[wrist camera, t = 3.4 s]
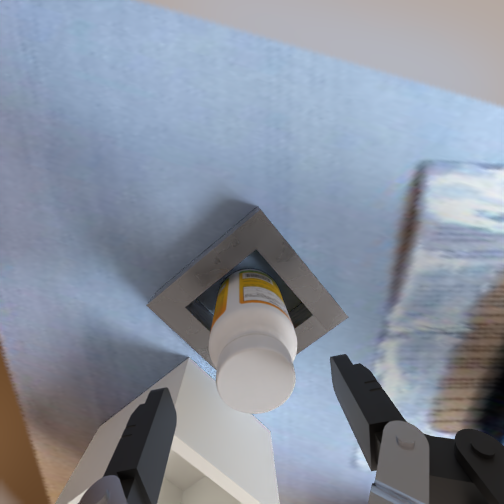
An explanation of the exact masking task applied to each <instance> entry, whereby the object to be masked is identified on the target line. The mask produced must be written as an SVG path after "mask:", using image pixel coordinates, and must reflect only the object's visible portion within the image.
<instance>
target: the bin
mask: <svg viewBox="0 0 504 504" xmlns="http://www.w3.org/2000/svg"><path fill="white" fill-rule="evenodd" d="M165 387H167V388H168V389H169V391H170V394H171V397H172V400H173V403H174V407H175V410H176V414H177V424H176V429H175V433H174V437H173V441H172V445H171V449H170V453H169V457H168V461H167V465H166V469H165V474H164V478H163V482H162V486H161V490H160V494H159V498H158V502H157V504H280V503H279V495H278V487H277V479H276V471H275V463H274V455H273V447H272V439H271V431H270V430H268V429H267V428H266V427H265V426H264V425H263V424H262V423H261V422H260V421H259V420H257V419H256V418H255V417H254V416H253V415H252V414H249V413H243V412H239V411H237V410H235V409H232V408H231V407H229V406H228V405H227V404H226V403H225V402H224V401H223V400H222V399H221V397H220V396H219V393H218V391H217V387H216V381H215V380H214V379H212V378H211V377H210V376H209V375H208V374H207V373H206V372H205V371H204V370H203V369H201V368H200V367H199V366H198V365H197V364H196V363H195V362H194V361H193V360H192V359H191V358H187V359H186V360H185V361H184V362H182V363H181V364H180V365H178V366H177V367H176V368H175V369H173V370H172V371H171V372H169V373H168V374H167V375H166V376H164V377H163V378H162V379H160V380H159V381H158V382H157V383H155V384H154V385H153V386H151V387H150V388H149V389H148V390H146V391H145V392H144V393H142V394H141V395H140V396H139V397H137V398H136V399H135V400H133V401H132V402H131V403H129V404H128V405H127V406H126V407H124V408H123V409H122V410H120V411H119V412H118V413H117V414H115V415H114V416H113V417H111V418H110V419H109V420H108V421H106V422H105V423H104V424H102V425H101V426H100V427H99V428H98V430H97V432H96V433H95V435H94V437H93V439H92V440H91V442H90V444H89V446H88V447H87V449H86V451H85V453H84V454H83V456H82V458H81V460H80V461H79V463H78V465H77V467H76V468H75V470H74V472H73V473H72V475H71V477H70V479H69V480H68V482H67V484H66V486H65V487H64V489H63V491H62V493H61V494H60V496H59V498H58V500H57V501H56V503H55V504H77V503H79V502H80V500H81V498H82V496H83V495H84V493H85V492H86V491H87V490H88V489H89V488H90V487H91V486H92V485H93V484H94V483H95V482H96V481H98V480H99V479H101V478H102V477H103V475H104V473H105V471H106V469H107V467H108V465H109V462H110V460H111V458H112V456H113V453H114V451H115V449H116V447H117V445H118V442H119V440H120V439H121V436H122V434H123V431H124V429H126V425H127V423H128V420H129V418H130V416H131V414H132V413H133V412H134V411H135V410H136V408H137V407H138V406H139V405H140V404H145V402H146V399H147V397H148V394H149V392H150V391H151V390H155V389H160V388H165Z"/></svg>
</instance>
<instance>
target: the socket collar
mask: <svg viewBox="0 0 504 504" xmlns="http://www.w3.org/2000/svg"><path fill="white" fill-rule="evenodd" d="M256 249H257V250H258V252H259V253H260V254H261V255H262V256H263V257H264V259H265V260H266V261H267V262H268V263H269V264H270V266H271V267H272V268H273V269H274V270H275V271H276V273H277V274H278V275H279V276H280V277H281V278H282V279H283V281H284V282H285V283H286V284H287V285H288V286H289V288H290V289H291V290H292V291H293V292H294V293H295V295H296V296H297V297H298V298H299V299H300V300H301V301H302V304H300V305H299V306H298V307H296V308H295V309H294V310H292V311H291V312H290V313H288V314H289V317H290V319H291V321H292V324H293V326H294V330H295V333H296V337H297V352H296V355H297V354H298V353H299V352H301V351H302V350H304V349H305V348H306V347H308V346H309V345H311V344H312V343H313V342H315V341H316V340H317V339H319V338H320V337H322V336H323V335H324V334H326V333H327V332H329V331H330V330H331V329H333V328H334V327H336V326H337V325H338V324H340V323H341V322H342V321H344V320H345V319H347V318H348V316H347V315H346V314H345V312H344V311H343V310H342V309H341V308H340V306H339V305H338V304H337V303H336V301H335V300H334V299H333V298H332V296H331V295H330V294H329V293H328V292H327V290H326V289H325V288H324V287H323V285H322V284H321V283H320V282H319V281H318V279H317V278H316V277H315V276H314V274H313V273H312V272H311V271H310V270H309V268H308V267H307V266H306V265H305V263H304V262H303V261H302V260H301V258H300V257H299V256H298V255H297V254H296V252H295V251H294V250H293V249H292V247H291V246H290V245H289V244H288V243H287V241H286V240H285V239H284V238H283V236H282V235H281V234H280V233H279V232H278V230H277V229H276V228H275V227H274V225H273V224H272V223H271V222H270V221H269V219H268V218H267V217H266V216H265V214H264V213H263V212H262V211H261V209H260V208H259V207H256V208H255V209H254V210H253V211H252V212H250V213H249V214H248V215H247V216H246V217H244V218H243V219H242V220H241V221H240V222H239V223H237V224H236V225H235V226H234V227H233V228H231V229H230V230H229V231H228V232H227V233H226V234H224V235H223V236H222V237H221V238H220V239H218V240H217V241H216V242H215V243H214V244H213V245H211V246H210V247H209V248H208V249H207V250H205V251H204V252H203V253H202V254H201V255H199V256H198V257H197V258H196V259H195V260H194V261H192V262H191V263H190V264H189V265H188V266H186V267H185V268H184V269H183V270H182V271H181V272H179V273H178V274H177V275H176V276H175V277H173V278H172V279H171V280H170V281H169V282H167V283H166V284H165V285H164V286H163V287H162V288H160V289H159V290H158V291H157V292H156V293H155V295H154V296H153V297H152V299H151V300H150V301H149V303H148V304H147V306H148V307H149V308H150V309H151V310H152V311H153V312H154V313H155V314H156V315H157V316H159V317H160V318H161V319H162V320H163V321H164V322H165V323H166V324H167V325H168V326H169V327H170V328H171V329H173V330H174V331H175V332H176V333H177V334H178V335H179V336H180V337H181V338H182V339H183V340H184V341H186V342H187V343H188V344H189V345H190V346H191V347H192V348H193V349H194V350H195V351H196V352H197V353H198V354H200V355H201V356H202V357H203V358H204V359H205V360H206V361H207V362H208V363H209V364H210V365H211V366H212V367H214V368H215V366H214V365H213V363H212V360H211V358H210V354H209V337H210V332H211V327H212V322H213V315H212V314H211V313H210V312H209V311H208V310H207V309H206V308H205V307H204V306H203V305H202V304H201V303H200V302H199V301H198V300H197V299H196V298H197V297H198V296H200V295H201V294H202V293H203V292H205V291H206V290H207V289H208V288H209V287H211V286H212V285H213V284H214V283H216V282H217V281H218V280H219V279H220V278H222V277H223V276H224V275H225V274H227V273H228V272H229V271H230V270H232V269H233V268H234V267H235V266H236V265H238V264H239V263H240V262H241V261H243V260H244V259H245V258H246V257H247V256H249V255H250V254H251V253H252V252H254V251H255V250H256ZM215 369H216V368H215ZM216 370H217V369H216Z"/></svg>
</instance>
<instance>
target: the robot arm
mask: <svg viewBox="0 0 504 504" xmlns="http://www.w3.org/2000/svg"><path fill="white" fill-rule="evenodd" d="M330 364H331V374H332V383H333V387H334V391H335V394H336V396H337V399H338V401H339V403H340V405H341V407H342V409H343V411H344V414H345V416H346V418H347V420H348V422H349V424H350V426H351V429H352V431H353V433H354V435H355V437H356V439H357V441H358V444H359V446H360V448H361V450H362V452H363V454H364V456H365V459H366V461H367V463H368V465H369V467H370V469H371V471H376V470H377V472H376V478H375V482H374V484H372V486H371V490H370V495H369V501H368V504H504V446H503V445H502V444H501V443H500V442H498V441H497V440H496V439H494V438H493V437H491V436H489V435H488V434H485V433H483V432H481V431H478V430H473V429H463V430H460V431H459V432H458V433H457V434H456V436H455V439H449V438H441V437H434V436H429V435H426V434H424V433H422V432H421V431H420V430H419V429H418V428H417V427H415V426H414V425H412V424H410V423H408V422H406V420H405V419H404V418H403V417H402V415H401V414H400V412H399V411H398V409H397V408H396V407H395V405H394V404H393V402H392V401H391V400H390V398H389V397H388V395H387V394H386V393H385V391H384V390H383V389H382V387H381V385H380V384H379V383H378V382H377V380H376V378H375V377H374V376H373V374H372V373H371V371H370V370H369V369H367V368H366V367H364V366H363V365H362V364H360V363H359V364H354V365H353V364H352V362H351V361H350V359H349V358H348V356H347V355H346V354H343V355H338V356H333V357H330ZM176 424H177V414H176V410H175V407H174V403H173V400H172V397H171V394H170V391H169V389H168V388H167V387H165V388H160V389H155V390H151V391H150V392H149V394H148V397H147V399H146V402H145V404H140V405H139V406H138V407H137V408H136V410H135V411H134V412H133V413H132V414H131V416H130V418H129V420H128V423H127V425H126V429H124V431H123V434H122V436H121V439H120V440H119V442H118V445H117V447H116V449H115V451H114V453H113V456H112V458H111V460H110V462H109V465H108V467H107V469H106V471H105V473H104V475H103V477H102V478H101V479H99V480H98V481H96V482H95V483H94V484H93V485H92V486H91V487H90V488H89V489H88V490H87V491H86V492H85V493H84V495H83V496H82V498H81V500H80V502H79V503H77V504H157V502H158V498H159V494H160V490H161V486H162V482H163V478H164V474H165V469H166V465H167V461H168V457H169V453H170V449H171V445H172V441H173V437H174V433H175V429H176Z"/></svg>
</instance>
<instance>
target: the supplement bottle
mask: <svg viewBox="0 0 504 504" xmlns="http://www.w3.org/2000/svg"><path fill="white" fill-rule="evenodd" d="M296 352H297V337H296V333H295V330H294V326H293V324H292V321H291V319H290V317H289V314H288V312H287V309H286V306H285V304H284V301H283V298H282V295H281V293H280V290H279V288H278V286H277V284H276V282H275V281H274V280H273V279H272V278H271V277H270V276H269V275H268V274H266V273H264V272H262V271H259V270H255V269H244V270H240V271H237V272H235V273H233V274H231V275H230V276H228V277H227V278H226V279H225V281H224V282H223V283H222V285H221V287H220V289H219V292H218V295H217V300H216V306H215V312H214V316H213V322H212V327H211V332H210V337H209V354H210V358H211V360H212V363H213V365H214V366H215V368H216V369H217V373H216V387H217V391H218V393H219V396H220V397H221V399H222V400H223V401H224V402H225V403H226V404H227V405H228V406H229V407H231V408H232V409H235V410H237V411H239V412H243V413H249V414H258V413H265V412H268V411H271V410H273V409H275V408H277V407H279V406H280V405H282V404H283V403H284V402H285V401H286V400H287V399H288V398H289V397H290V395H291V393H292V392H293V389H294V386H295V380H296V378H295V371H294V366H293V361H294V359H295V356H296Z"/></svg>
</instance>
